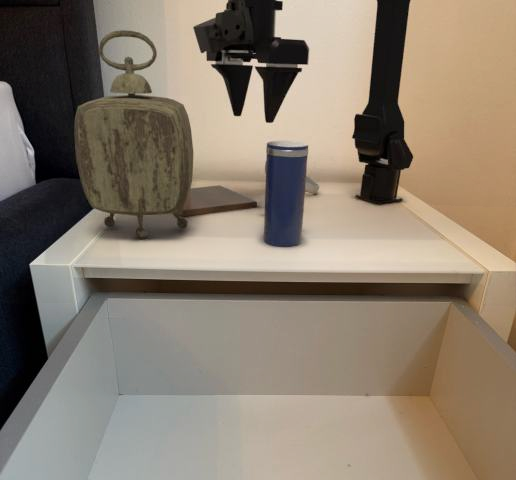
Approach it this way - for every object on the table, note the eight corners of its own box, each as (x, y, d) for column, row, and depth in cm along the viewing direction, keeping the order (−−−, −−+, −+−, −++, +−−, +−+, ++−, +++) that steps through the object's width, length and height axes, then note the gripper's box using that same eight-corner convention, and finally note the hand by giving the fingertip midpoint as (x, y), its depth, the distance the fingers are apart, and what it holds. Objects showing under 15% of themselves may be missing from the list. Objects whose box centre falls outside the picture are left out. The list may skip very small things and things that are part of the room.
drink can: (287, 232, 75) (292, 139, 68) (309, 243, 71) (317, 145, 64) (256, 238, 72) (258, 141, 66) (277, 249, 68) (281, 148, 62)
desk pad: (219, 190, 98) (219, 185, 97) (257, 207, 87) (257, 201, 87) (151, 197, 91) (151, 192, 90) (183, 216, 81) (183, 210, 80)
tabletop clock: (196, 226, 76) (189, 34, 64) (191, 245, 69) (182, 30, 56) (100, 224, 76) (74, 30, 63) (84, 243, 68) (51, 26, 55)
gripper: (171, -9, 70) (177, 114, 77) (237, -22, 56) (236, 128, 64) (240, -2, 75) (239, 112, 83) (316, -13, 61) (306, 125, 69)
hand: (252, 119), depth 74 cm, fingers open, 9 cm apart
